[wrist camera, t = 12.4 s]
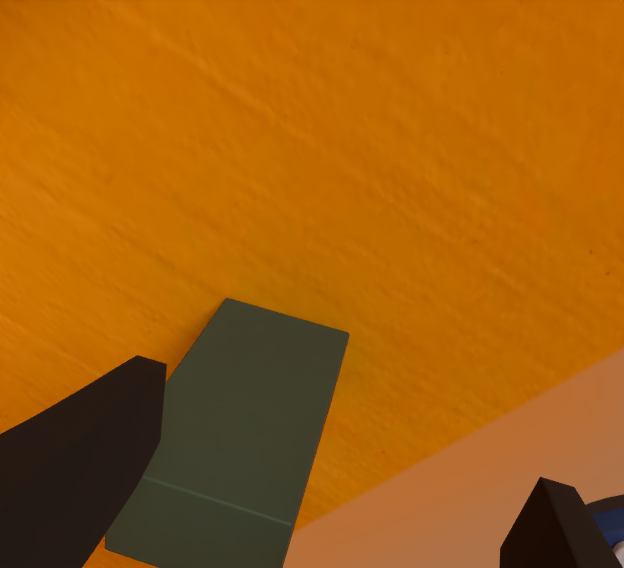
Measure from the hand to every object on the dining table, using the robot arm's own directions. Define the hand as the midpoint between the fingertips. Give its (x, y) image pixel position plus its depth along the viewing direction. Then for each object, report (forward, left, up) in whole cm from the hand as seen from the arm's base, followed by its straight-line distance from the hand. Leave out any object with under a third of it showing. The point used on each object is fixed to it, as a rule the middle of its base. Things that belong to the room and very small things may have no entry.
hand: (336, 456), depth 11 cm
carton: (+3, +4, -6) cm, 8 cm away
